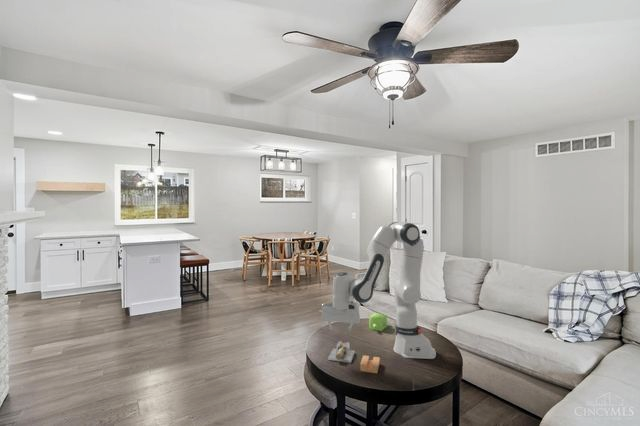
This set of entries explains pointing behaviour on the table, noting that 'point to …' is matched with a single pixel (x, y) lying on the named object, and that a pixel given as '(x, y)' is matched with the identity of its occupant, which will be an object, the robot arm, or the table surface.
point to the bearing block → (346, 356)
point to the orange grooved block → (370, 364)
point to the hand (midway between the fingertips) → (340, 330)
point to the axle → (340, 352)
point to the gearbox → (377, 321)
